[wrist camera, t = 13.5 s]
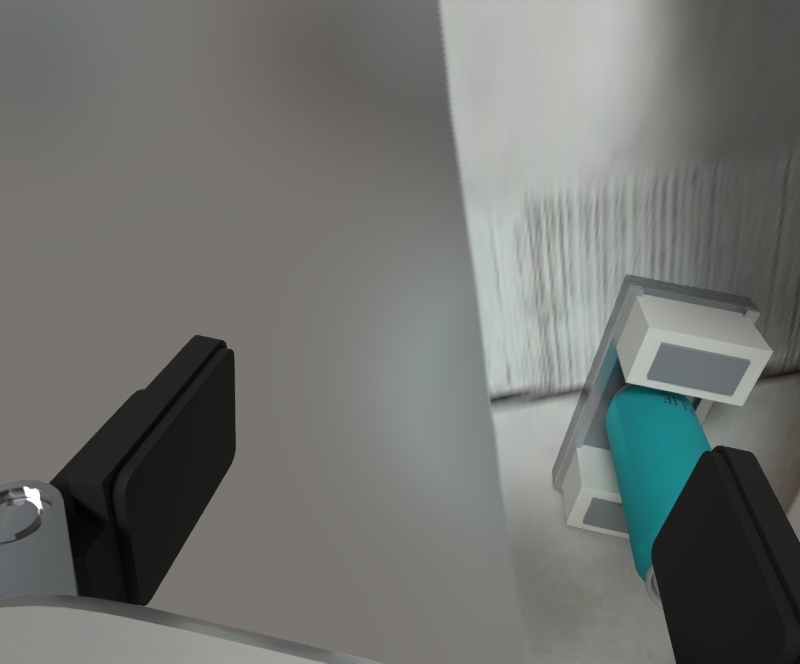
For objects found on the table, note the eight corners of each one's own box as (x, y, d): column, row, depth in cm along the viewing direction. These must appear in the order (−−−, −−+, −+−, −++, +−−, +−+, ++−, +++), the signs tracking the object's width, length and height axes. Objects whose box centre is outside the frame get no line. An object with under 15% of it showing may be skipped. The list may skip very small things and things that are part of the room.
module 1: (576, 443, 44) (582, 489, 40) (669, 463, 44) (685, 512, 40) (561, 480, 46) (566, 528, 42) (650, 500, 46) (663, 550, 42)
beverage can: (650, 448, 43) (706, 638, 31) (585, 412, 43) (615, 589, 30) (707, 397, 41) (795, 582, 28) (638, 357, 40) (697, 527, 27)
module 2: (635, 292, 38) (650, 329, 34) (746, 314, 37) (775, 354, 33) (615, 344, 40) (626, 385, 36) (719, 365, 39) (743, 409, 35)
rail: (626, 274, 39) (631, 287, 37) (749, 298, 38) (760, 312, 36) (552, 470, 48) (553, 488, 46) (650, 492, 47) (655, 510, 46)
